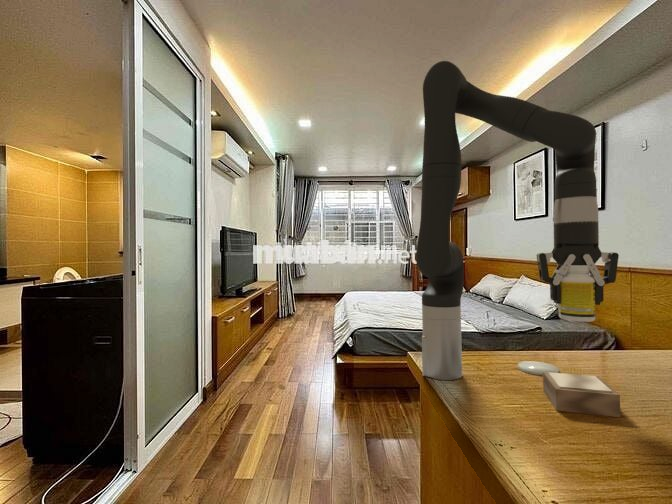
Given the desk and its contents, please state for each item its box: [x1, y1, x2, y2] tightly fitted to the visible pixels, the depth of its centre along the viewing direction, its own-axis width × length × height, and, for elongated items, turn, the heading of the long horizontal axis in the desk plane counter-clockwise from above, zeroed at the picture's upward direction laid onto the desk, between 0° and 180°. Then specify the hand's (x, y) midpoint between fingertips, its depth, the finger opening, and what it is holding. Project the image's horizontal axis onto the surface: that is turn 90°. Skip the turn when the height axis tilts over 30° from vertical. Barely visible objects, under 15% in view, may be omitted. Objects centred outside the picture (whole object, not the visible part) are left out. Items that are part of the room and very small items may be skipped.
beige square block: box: [542, 372, 621, 418], centre depth 69 cm, size 10×10×4 cm
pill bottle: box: [557, 265, 597, 323], centre depth 71 cm, size 6×6×11 cm
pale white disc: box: [517, 360, 560, 377], centre depth 89 cm, size 9×9×1 cm
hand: (576, 303), depth 71 cm, fingers closed on pill bottle, 6 cm apart
